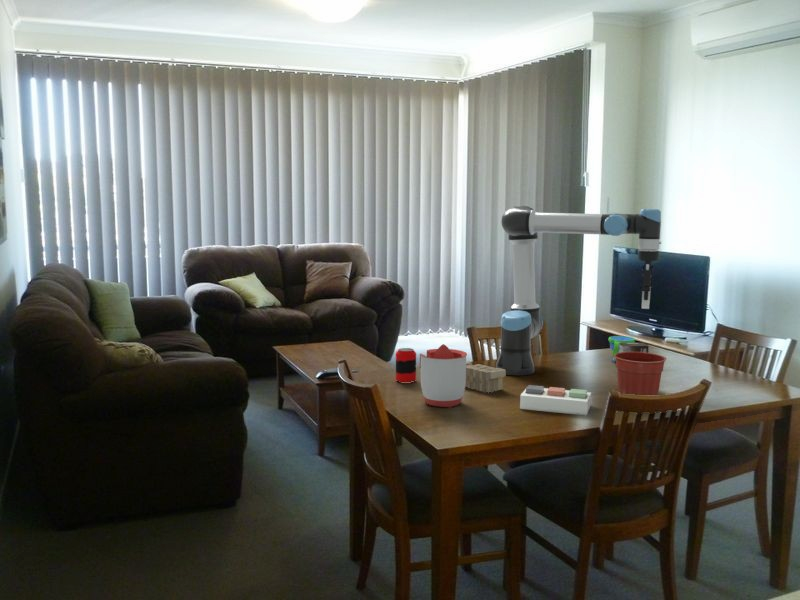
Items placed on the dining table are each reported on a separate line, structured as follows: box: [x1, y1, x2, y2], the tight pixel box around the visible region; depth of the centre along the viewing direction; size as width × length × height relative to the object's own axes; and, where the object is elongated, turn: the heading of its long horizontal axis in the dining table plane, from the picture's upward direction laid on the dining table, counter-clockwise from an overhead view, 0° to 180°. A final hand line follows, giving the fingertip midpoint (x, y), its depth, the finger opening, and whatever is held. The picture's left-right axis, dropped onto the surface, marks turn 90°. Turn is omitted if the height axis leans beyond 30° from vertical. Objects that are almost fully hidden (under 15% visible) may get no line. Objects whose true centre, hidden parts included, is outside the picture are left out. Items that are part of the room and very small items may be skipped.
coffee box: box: [619, 342, 650, 353], centre depth 270 cm, size 9×6×16 cm
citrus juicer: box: [416, 344, 468, 408], centre depth 249 cm, size 16×17×20 cm
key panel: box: [519, 387, 592, 416], centre depth 245 cm, size 21×12×4 cm, turn 70°
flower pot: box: [614, 352, 667, 396], centre depth 248 cm, size 16×16×16 cm
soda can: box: [395, 347, 417, 382], centre depth 279 cm, size 8×8×12 cm
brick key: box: [547, 386, 566, 397], centre depth 244 cm, size 5×5×3 cm
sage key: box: [569, 388, 588, 399], centre depth 242 cm, size 5×5×3 cm
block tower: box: [465, 361, 506, 394], centre depth 274 cm, size 8×8×29 cm
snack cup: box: [608, 335, 636, 364], centre depth 312 cm, size 16×10×10 cm
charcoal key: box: [525, 384, 545, 395], centre depth 247 cm, size 5×5×3 cm
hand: (645, 306), depth 284 cm, fingers open, 13 cm apart
